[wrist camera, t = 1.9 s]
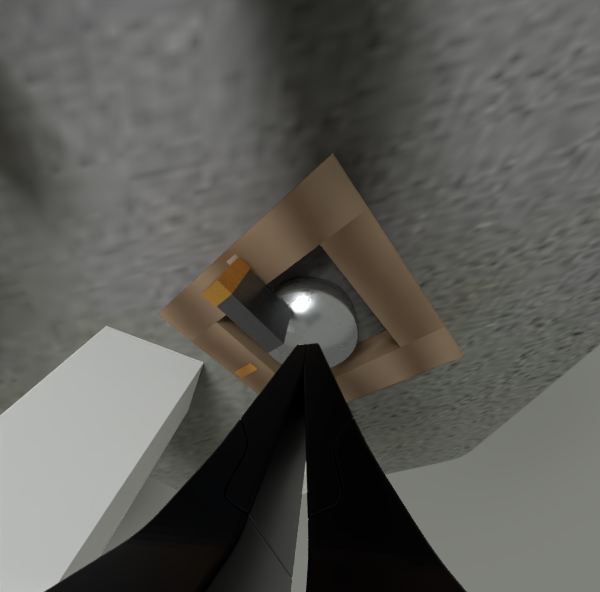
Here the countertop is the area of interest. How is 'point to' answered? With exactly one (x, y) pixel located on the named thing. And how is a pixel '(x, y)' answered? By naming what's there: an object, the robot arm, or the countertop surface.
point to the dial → (287, 312)
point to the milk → (84, 453)
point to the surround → (355, 267)
